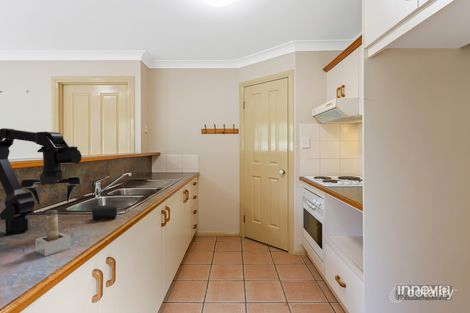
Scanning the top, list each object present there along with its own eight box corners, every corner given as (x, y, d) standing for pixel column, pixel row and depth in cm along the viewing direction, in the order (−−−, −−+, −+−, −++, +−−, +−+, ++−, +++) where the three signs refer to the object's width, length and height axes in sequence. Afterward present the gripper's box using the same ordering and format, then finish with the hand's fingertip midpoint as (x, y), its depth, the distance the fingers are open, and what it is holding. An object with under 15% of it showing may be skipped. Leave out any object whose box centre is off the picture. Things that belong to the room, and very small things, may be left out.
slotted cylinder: (45, 251, 79) (43, 212, 78) (51, 247, 82) (50, 209, 81) (55, 251, 79) (53, 212, 79) (60, 247, 82) (59, 209, 82)
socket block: (35, 251, 79) (35, 239, 79) (60, 243, 85) (60, 232, 85) (45, 256, 76) (44, 243, 75) (70, 248, 82) (70, 236, 82)
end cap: (92, 222, 109) (92, 208, 109) (92, 219, 115) (92, 204, 115) (117, 219, 114) (116, 205, 114) (115, 215, 120) (115, 202, 120)
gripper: (13, 166, 84) (15, 210, 85) (77, 164, 92) (78, 204, 93) (25, 164, 94) (26, 203, 95) (81, 162, 102) (82, 199, 103)
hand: (53, 202), depth 96 cm, fingers open, 9 cm apart
